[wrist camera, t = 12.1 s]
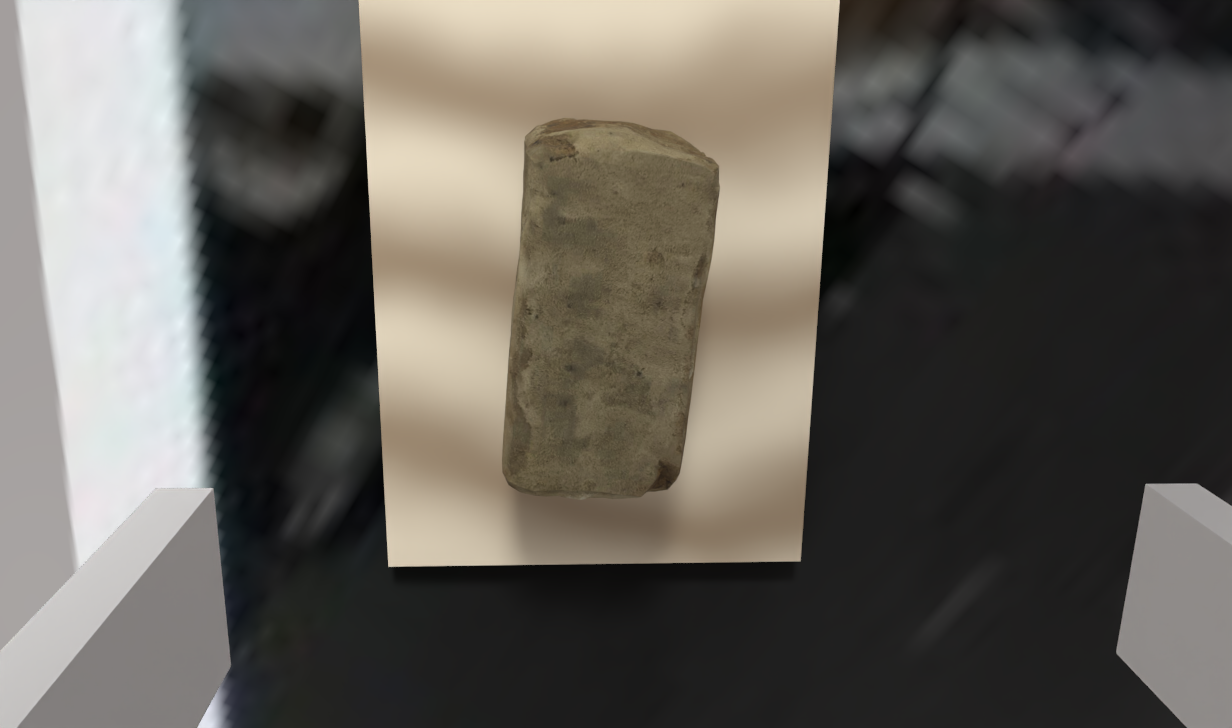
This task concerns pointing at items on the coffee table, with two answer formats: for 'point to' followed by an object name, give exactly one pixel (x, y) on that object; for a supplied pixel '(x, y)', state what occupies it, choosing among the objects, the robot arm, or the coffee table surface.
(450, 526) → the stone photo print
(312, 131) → the coffee table surface
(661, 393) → the stone block
